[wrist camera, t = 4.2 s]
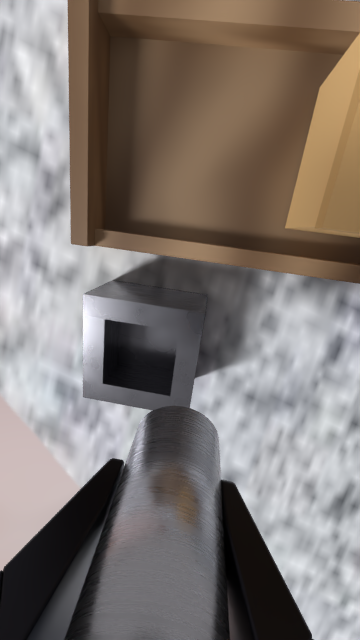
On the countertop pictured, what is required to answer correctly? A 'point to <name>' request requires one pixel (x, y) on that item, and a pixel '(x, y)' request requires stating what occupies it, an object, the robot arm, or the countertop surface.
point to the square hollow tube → (141, 344)
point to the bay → (202, 127)
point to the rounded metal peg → (161, 540)
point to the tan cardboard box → (332, 156)
